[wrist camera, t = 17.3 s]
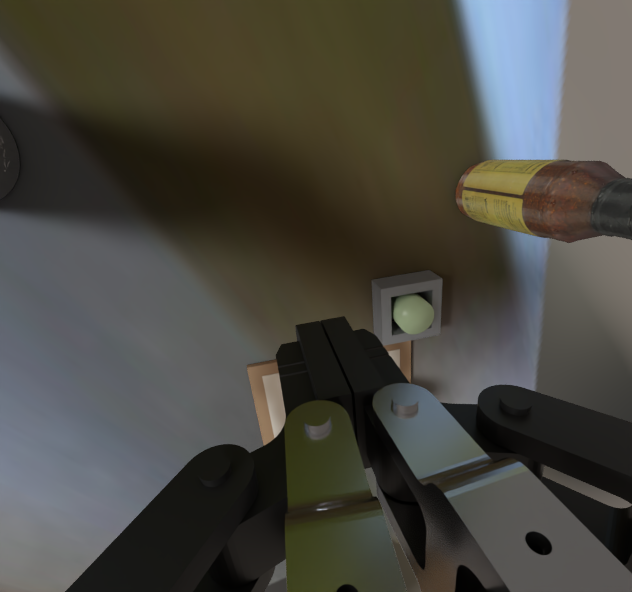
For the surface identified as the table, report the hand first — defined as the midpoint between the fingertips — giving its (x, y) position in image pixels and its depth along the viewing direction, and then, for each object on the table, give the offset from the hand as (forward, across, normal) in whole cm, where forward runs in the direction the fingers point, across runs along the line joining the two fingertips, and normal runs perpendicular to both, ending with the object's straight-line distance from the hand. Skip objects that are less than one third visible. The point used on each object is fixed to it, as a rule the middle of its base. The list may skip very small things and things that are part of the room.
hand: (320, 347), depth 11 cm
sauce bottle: (+27, -23, +1) cm, 36 cm away
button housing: (+27, -14, +13) cm, 33 cm away
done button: (+26, -14, +13) cm, 33 cm away
